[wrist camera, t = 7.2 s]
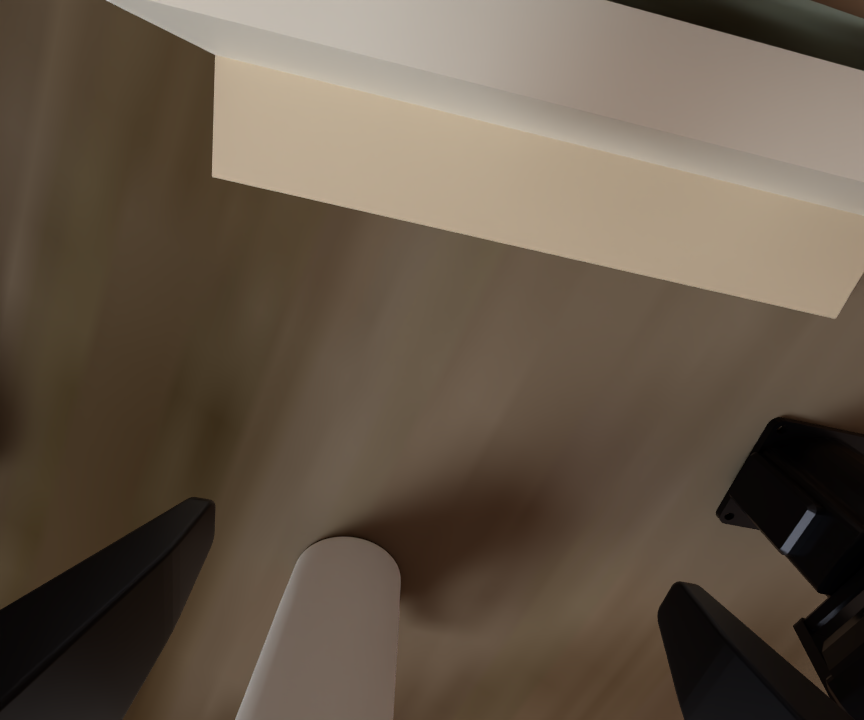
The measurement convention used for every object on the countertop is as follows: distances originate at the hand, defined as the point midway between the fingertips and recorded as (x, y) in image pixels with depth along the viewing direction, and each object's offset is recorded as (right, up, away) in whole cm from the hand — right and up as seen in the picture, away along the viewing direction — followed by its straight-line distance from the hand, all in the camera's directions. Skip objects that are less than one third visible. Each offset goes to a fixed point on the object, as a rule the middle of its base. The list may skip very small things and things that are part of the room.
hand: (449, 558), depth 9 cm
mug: (-5, -10, +19) cm, 22 cm away
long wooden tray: (+5, +11, +9) cm, 15 cm away
